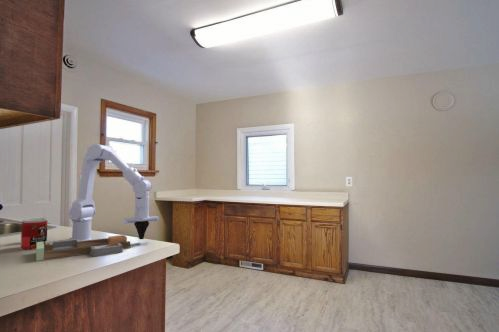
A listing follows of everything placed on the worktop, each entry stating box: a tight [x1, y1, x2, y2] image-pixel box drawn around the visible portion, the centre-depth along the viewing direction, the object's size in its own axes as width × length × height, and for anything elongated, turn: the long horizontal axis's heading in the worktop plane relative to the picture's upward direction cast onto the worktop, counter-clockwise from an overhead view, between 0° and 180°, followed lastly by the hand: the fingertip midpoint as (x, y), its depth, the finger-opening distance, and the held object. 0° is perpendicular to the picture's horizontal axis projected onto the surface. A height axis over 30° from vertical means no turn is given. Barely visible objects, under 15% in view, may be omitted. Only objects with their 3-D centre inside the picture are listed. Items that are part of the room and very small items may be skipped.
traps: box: [48, 239, 124, 257], centre depth 107 cm, size 22×22×2 cm
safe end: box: [35, 241, 45, 262], centre depth 98 cm, size 12×2×4 cm, turn 38°
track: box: [43, 237, 131, 261], centre depth 107 cm, size 12×28×2 cm, turn 128°
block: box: [107, 234, 128, 247], centre depth 114 cm, size 6×6×4 cm
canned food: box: [20, 217, 47, 251], centre depth 110 cm, size 8×8×11 cm
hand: (141, 238), depth 119 cm, fingers closed
